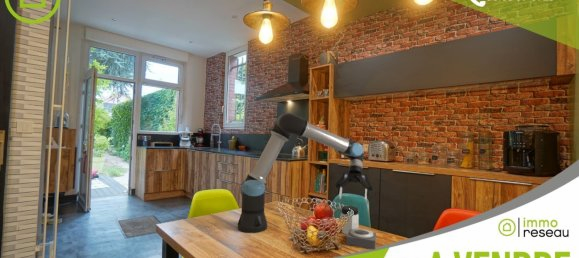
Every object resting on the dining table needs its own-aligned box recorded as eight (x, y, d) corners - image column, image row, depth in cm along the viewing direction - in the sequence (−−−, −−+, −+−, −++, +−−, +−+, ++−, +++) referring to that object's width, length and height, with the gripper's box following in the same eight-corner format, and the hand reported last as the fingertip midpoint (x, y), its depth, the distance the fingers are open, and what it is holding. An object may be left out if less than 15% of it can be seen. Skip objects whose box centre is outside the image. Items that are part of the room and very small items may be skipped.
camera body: (346, 244, 118) (346, 234, 119) (349, 236, 129) (349, 227, 129) (375, 249, 114) (375, 238, 115) (375, 240, 125) (376, 230, 125)
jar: (348, 236, 129) (349, 210, 130) (337, 231, 136) (337, 207, 137) (361, 233, 134) (362, 208, 135) (349, 228, 141) (350, 205, 142)
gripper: (377, 174, 158) (376, 205, 144) (335, 171, 167) (330, 201, 152) (377, 165, 153) (376, 197, 139) (334, 163, 162) (328, 193, 147)
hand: (352, 199), depth 145 cm, fingers open, 13 cm apart
